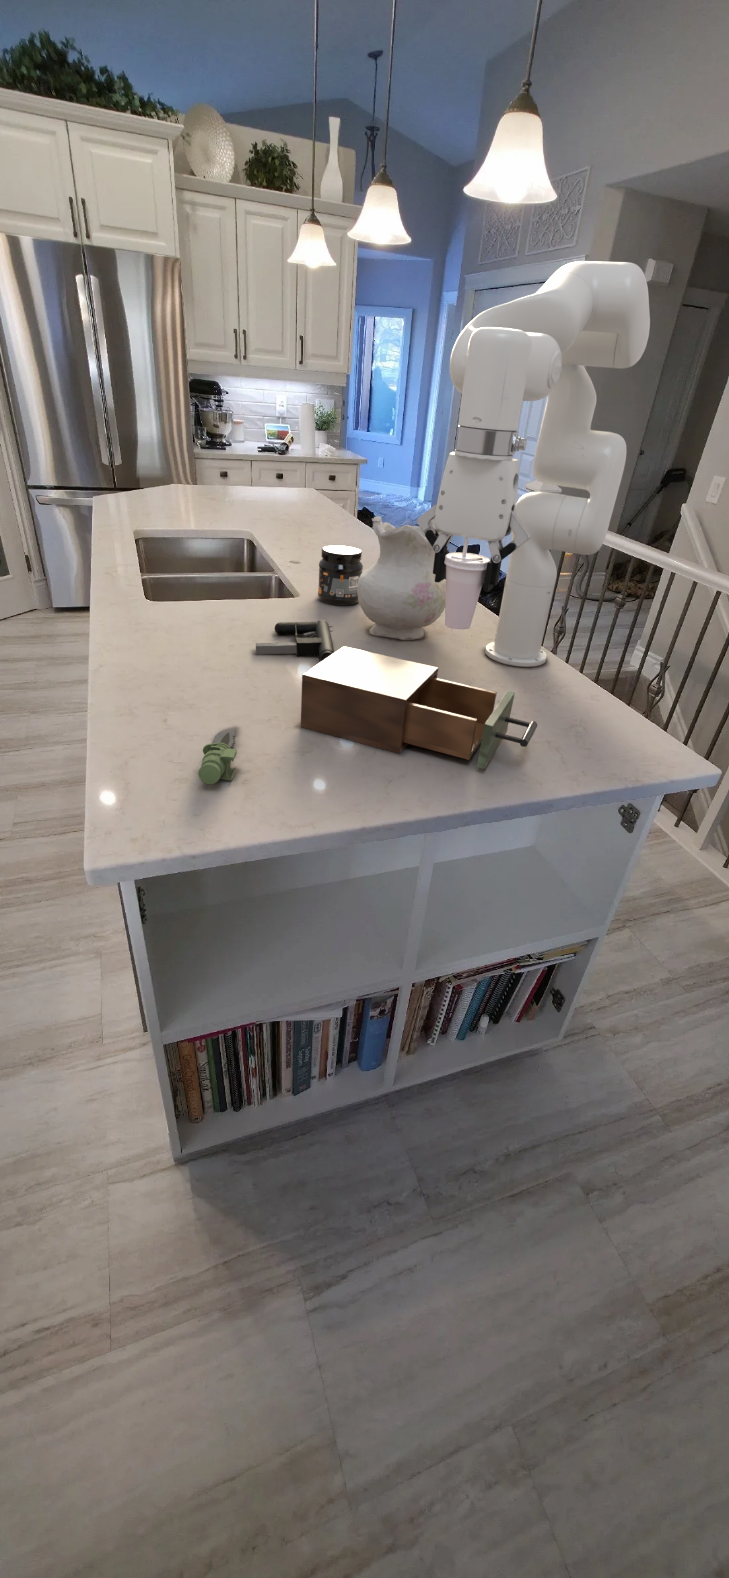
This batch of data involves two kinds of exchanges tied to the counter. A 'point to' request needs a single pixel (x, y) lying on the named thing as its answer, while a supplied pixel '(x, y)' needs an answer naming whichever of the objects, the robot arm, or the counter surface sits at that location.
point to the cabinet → (362, 696)
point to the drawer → (461, 720)
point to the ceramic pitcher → (401, 583)
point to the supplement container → (339, 574)
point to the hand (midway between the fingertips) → (464, 583)
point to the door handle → (301, 640)
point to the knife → (219, 758)
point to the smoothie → (463, 586)
